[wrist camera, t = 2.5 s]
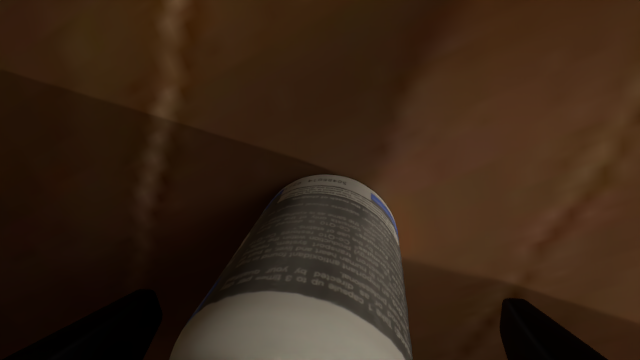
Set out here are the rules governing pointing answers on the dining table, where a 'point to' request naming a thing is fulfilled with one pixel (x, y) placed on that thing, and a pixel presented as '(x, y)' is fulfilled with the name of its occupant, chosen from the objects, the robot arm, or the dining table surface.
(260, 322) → the pill bottle
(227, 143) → the dining table surface
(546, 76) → the dining table surface
